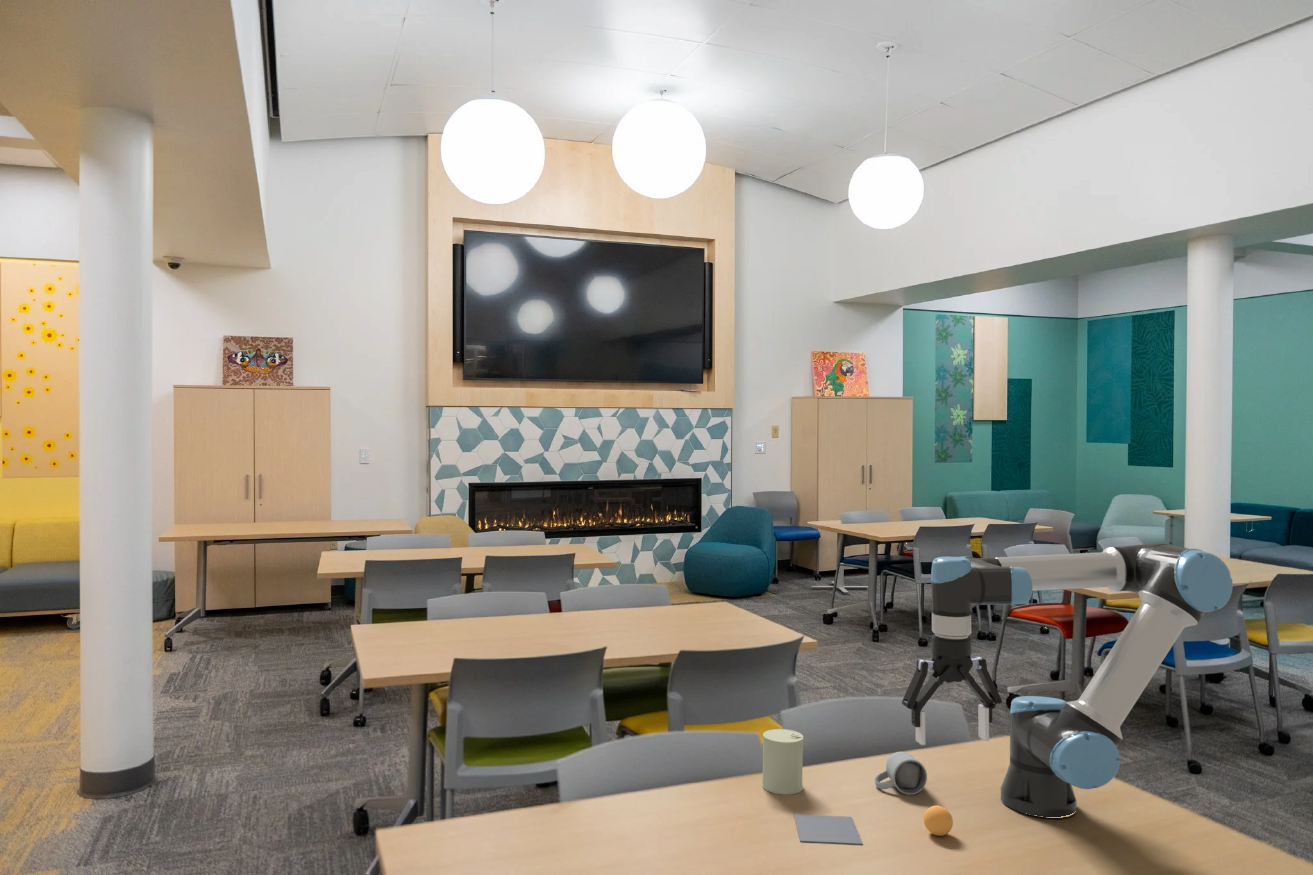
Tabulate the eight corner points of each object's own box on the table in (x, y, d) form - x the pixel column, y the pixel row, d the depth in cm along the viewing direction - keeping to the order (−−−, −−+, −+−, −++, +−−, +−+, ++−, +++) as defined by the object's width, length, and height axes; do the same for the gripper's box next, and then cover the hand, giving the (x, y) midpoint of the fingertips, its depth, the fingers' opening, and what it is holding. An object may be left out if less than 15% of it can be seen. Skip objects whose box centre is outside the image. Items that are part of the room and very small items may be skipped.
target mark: (851, 817, 178) (851, 816, 178) (862, 844, 166) (862, 843, 166) (793, 815, 178) (793, 814, 178) (800, 841, 166) (800, 840, 166)
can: (802, 796, 188) (803, 741, 188) (760, 792, 190) (761, 738, 190) (803, 780, 197) (804, 728, 197) (763, 776, 199) (764, 725, 199)
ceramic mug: (915, 780, 198) (915, 747, 198) (927, 794, 190) (927, 760, 190) (869, 781, 198) (869, 747, 198) (880, 795, 190) (880, 760, 190)
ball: (948, 828, 173) (948, 801, 173) (956, 841, 168) (956, 813, 168) (920, 827, 174) (921, 800, 174) (927, 840, 168) (928, 811, 168)
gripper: (998, 628, 177) (999, 730, 177) (884, 633, 174) (885, 737, 173) (1019, 636, 170) (1020, 743, 170) (901, 641, 166) (901, 750, 166)
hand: (952, 740), depth 172 cm, fingers open, 13 cm apart
